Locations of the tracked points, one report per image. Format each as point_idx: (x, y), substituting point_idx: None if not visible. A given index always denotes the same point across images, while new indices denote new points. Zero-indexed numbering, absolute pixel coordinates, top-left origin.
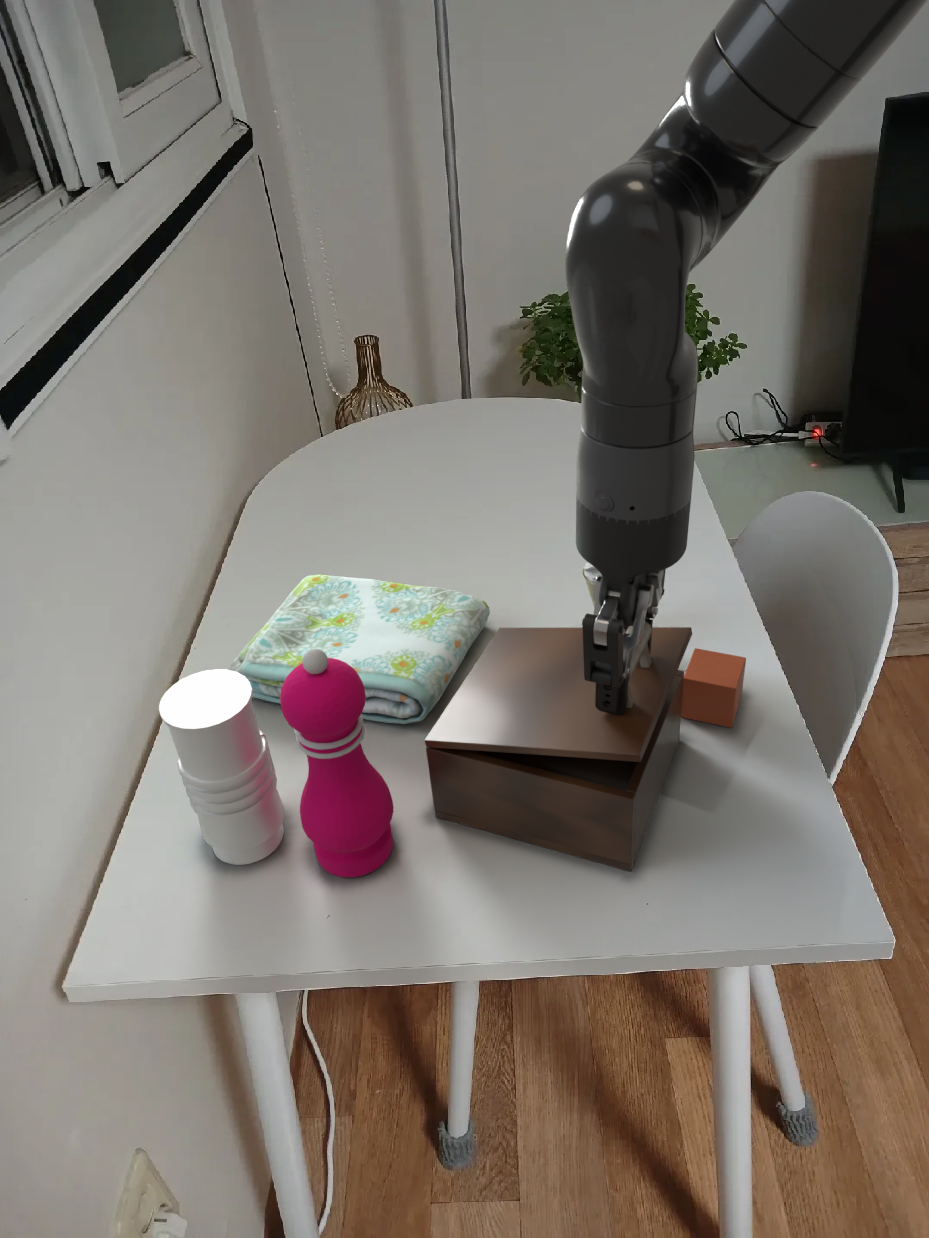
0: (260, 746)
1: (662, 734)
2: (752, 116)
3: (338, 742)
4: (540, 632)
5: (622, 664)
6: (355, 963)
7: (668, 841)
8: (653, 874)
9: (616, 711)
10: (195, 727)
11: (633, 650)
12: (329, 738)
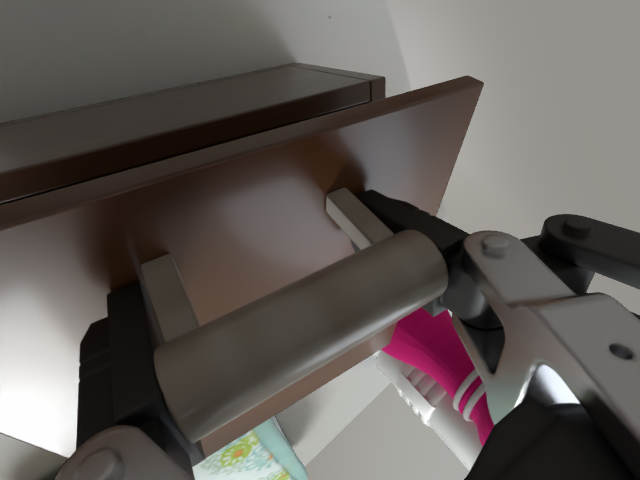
0: (450, 396)
1: (168, 122)
2: None
3: None
4: None
5: (627, 258)
6: (445, 212)
7: (222, 33)
8: (286, 29)
9: (400, 200)
10: None
11: (365, 309)
12: None
